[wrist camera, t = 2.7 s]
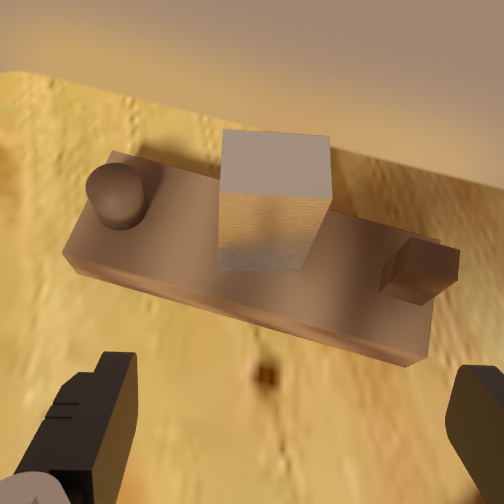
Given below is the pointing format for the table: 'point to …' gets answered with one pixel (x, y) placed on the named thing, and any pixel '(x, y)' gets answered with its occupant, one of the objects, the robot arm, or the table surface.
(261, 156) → the lever cap
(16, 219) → the table surface
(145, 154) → the table surface
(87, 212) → the plane body
